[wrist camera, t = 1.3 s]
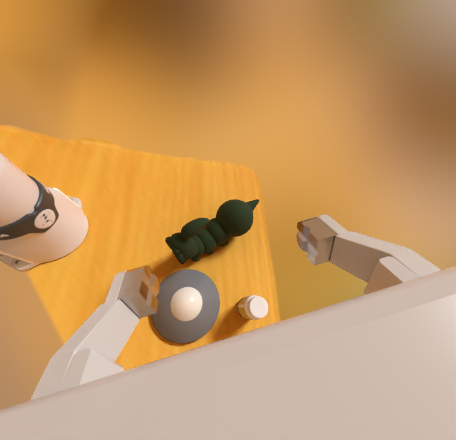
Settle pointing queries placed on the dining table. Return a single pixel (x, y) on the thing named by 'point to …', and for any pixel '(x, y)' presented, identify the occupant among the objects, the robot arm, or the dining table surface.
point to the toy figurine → (212, 230)
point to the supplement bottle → (253, 307)
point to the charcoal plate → (186, 306)
